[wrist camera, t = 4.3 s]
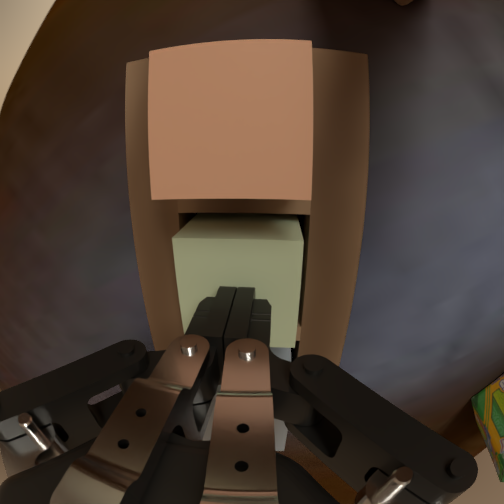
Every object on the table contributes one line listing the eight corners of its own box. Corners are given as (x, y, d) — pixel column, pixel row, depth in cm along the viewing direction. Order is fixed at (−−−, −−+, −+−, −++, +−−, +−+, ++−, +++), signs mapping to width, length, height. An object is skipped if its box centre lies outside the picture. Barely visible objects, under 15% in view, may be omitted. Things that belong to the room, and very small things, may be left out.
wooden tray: (352, 68, 13) (367, 54, 11) (322, 385, 22) (326, 412, 19) (149, 73, 14) (126, 62, 11) (179, 377, 23) (169, 402, 20)
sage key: (296, 212, 16) (303, 241, 12) (291, 297, 18) (294, 347, 14) (200, 210, 17) (172, 237, 12) (206, 294, 19) (185, 341, 14)
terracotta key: (300, 73, 12) (311, 40, 7) (299, 181, 14) (311, 200, 9) (189, 77, 12) (149, 51, 8) (190, 180, 14) (151, 199, 10)
